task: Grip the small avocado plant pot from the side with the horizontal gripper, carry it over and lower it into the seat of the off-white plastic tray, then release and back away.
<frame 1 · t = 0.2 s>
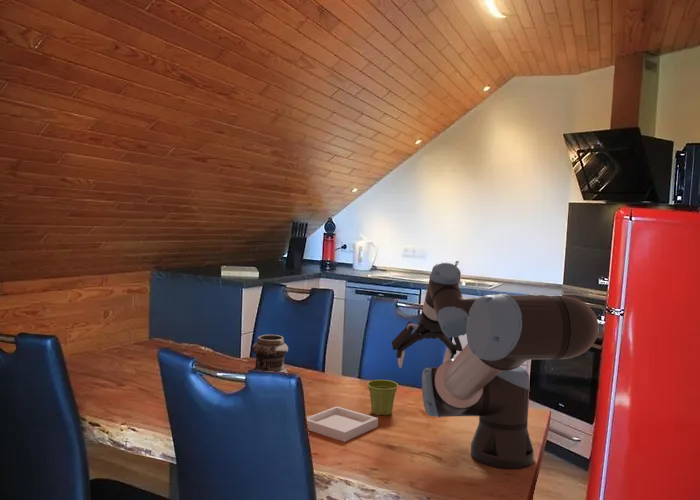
hand: (422, 364, 171), 16 cm above the table, tool tilted 35°, fingers open, 13 cm apart
plant pot: (381, 413, 175), on the table
apothecary jar: (269, 390, 194), on the table
pot tray: (340, 427, 161), on the table
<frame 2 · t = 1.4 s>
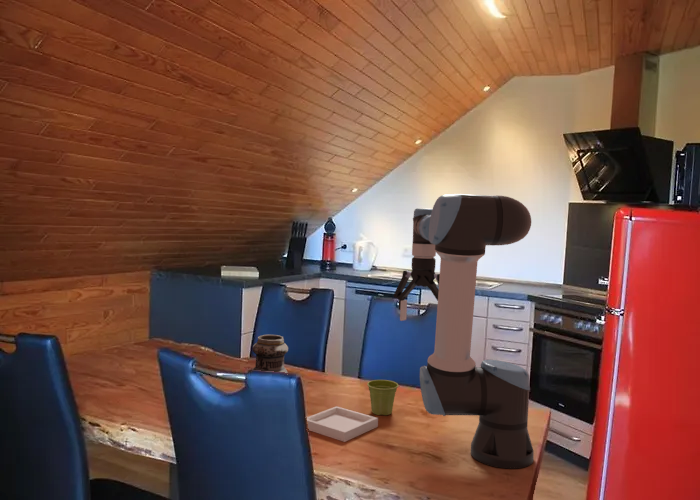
hand: (421, 323, 186), 25 cm above the table, tool pointing down, fingers open, 13 cm apart
nothing on the table moved.
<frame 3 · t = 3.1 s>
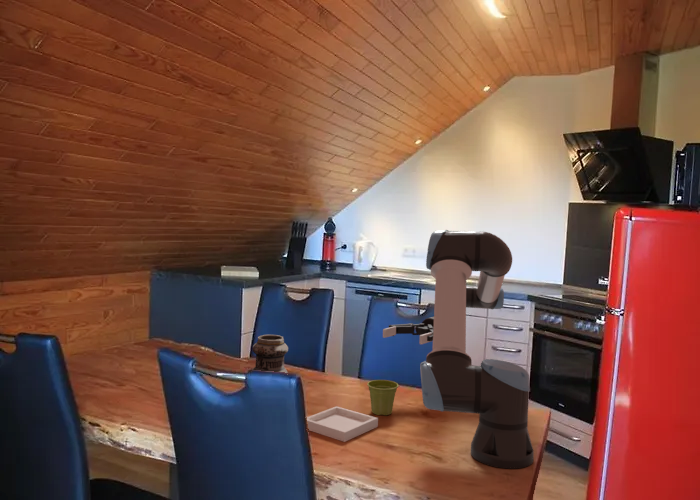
hand: (401, 336, 182), 22 cm above the table, tool horizontal, fingers open, 13 cm apart
nothing on the table moved.
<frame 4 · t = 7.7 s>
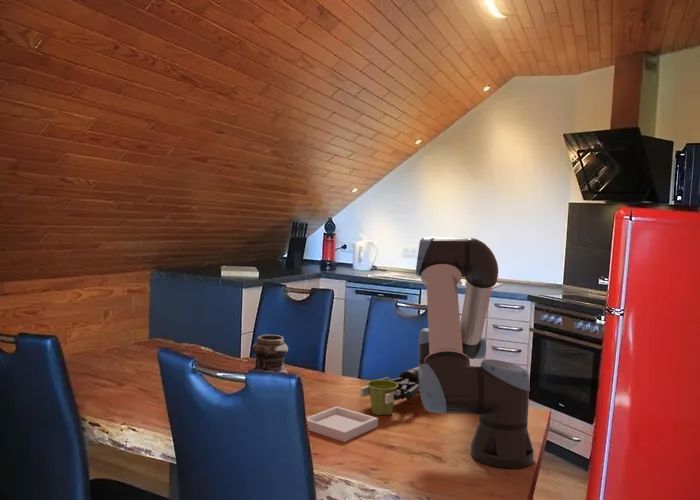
hand: (373, 396, 171), 6 cm above the table, tool horizontal, fingers closed on plant pot, 8 cm apart
plant pot: (381, 413, 175), on the table, touching gripper
everything else where it was.
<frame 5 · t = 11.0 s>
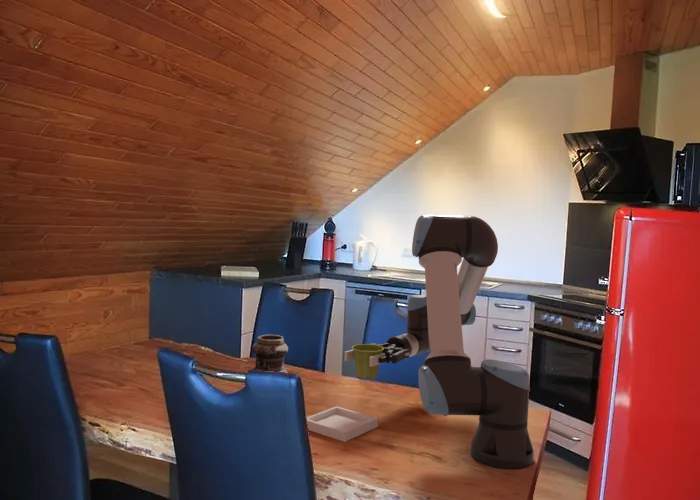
hand: (357, 359, 167), 18 cm above the table, tool horizontal, fingers closed on plant pot, 8 cm apart
plant pot: (367, 377, 171), point 12 cm above the table, touching gripper
everything else where it was.
when the fingers open (8 cm above the table, at t = 14.4 s): plant pot drops 1 cm, resting on pot tray.
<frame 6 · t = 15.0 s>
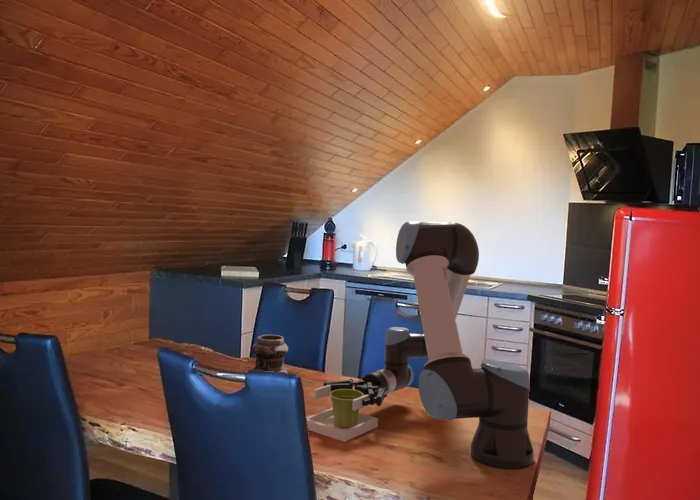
hand: (333, 399, 158), 8 cm above the table, tool horizontal, fingers open, 13 cm apart
plant pot: (345, 425, 161), point 1 cm above the table, touching pot tray
everything else where it was.
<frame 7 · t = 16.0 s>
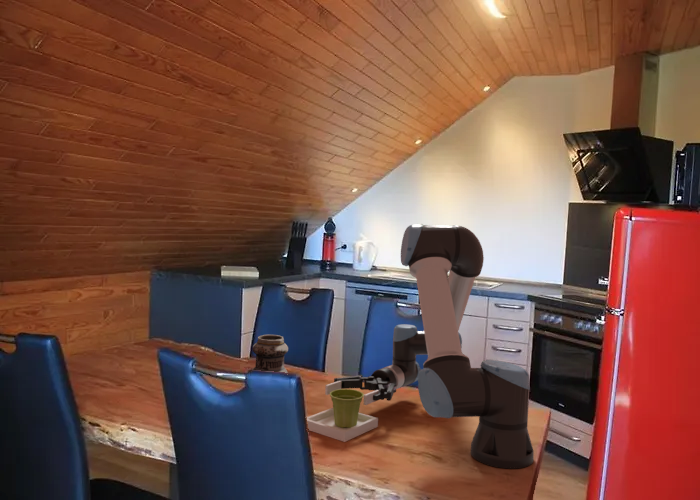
hand: (345, 395, 163), 9 cm above the table, tool horizontal, fingers open, 13 cm apart
nothing on the table moved.
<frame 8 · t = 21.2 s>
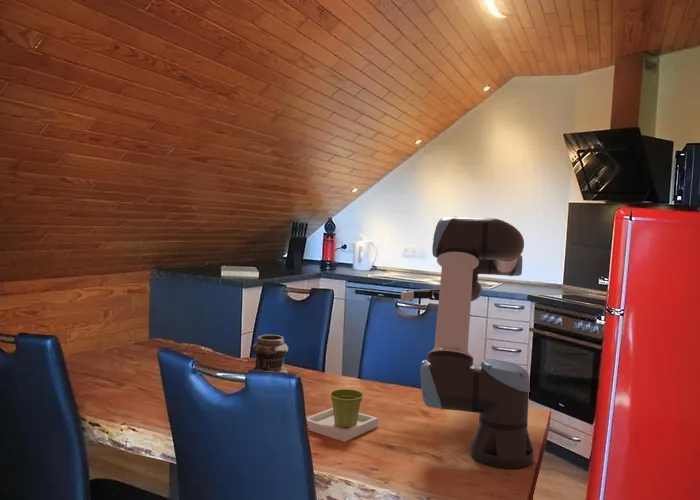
hand: (420, 299, 178), 34 cm above the table, tool horizontal, fingers open, 13 cm apart
nothing on the table moved.
at the end: plant pot 1.7 cm off-centre on the pot tray, point 0.8 cm above the pot tray's base; plant pot tilted 0°; the gripper is holding nothing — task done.
